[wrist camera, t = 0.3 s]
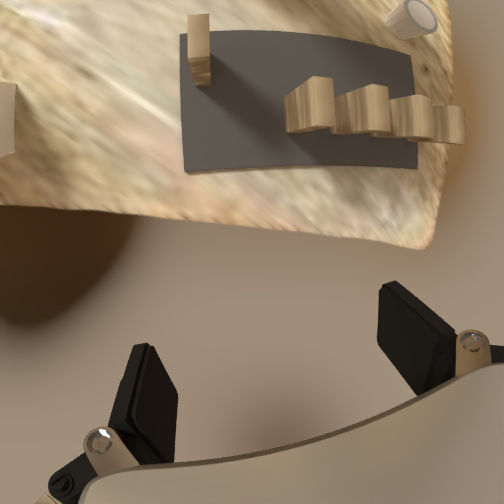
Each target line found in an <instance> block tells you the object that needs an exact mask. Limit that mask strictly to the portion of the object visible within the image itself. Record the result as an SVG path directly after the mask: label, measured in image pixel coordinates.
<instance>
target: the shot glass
mask: <svg viewBox="0 0 504 504" xmlns="http://www.w3.org/2000/svg"><path fill="white" fill-rule="evenodd" d="M385 23H386V25H387V28H388V29H389V30H390V32H391V33H392V34H393V35H395V36H396V37H397V38H400V39H402V40H407V39H411V38H415V37H418V36H422V35H427V34H431V33H433V32H435V31H436V30H437V27H438V25H437V20H436V17H435V15H434V13H433V12H432V11H431V9H430V8H429V7H428V6H427V5H426V4H425V3H424V2H423V1H421V0H404V1H402V2H401V3H400V4H399V5H398V6H396V7H395V8H394V9H393V10H392V11H390V12H389V13H388V14H387V15H386V17H385Z"/></svg>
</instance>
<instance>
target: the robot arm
mask: <svg viewBox="0 0 504 504" xmlns="http://www.w3.org/2000/svg"><path fill="white" fill-rule="evenodd" d="M378 310H379V311H378V330H377V342H378V345H379V347H380V348H381V349H382V351H383V352H384V353H385V354H386V356H387V357H388V358H389V360H390V361H391V362H392V364H393V365H394V366H395V367H396V369H397V370H398V371H399V373H400V374H401V375H402V377H403V378H404V379H405V381H406V382H407V383H408V385H409V386H410V387H411V389H412V390H413V391H414V393H415V394H416V395H417V397H415V398H413V399H411V400H409V401H407V402H405V403H403V404H401V405H399V406H396V407H394V408H392V409H390V410H387V411H385V412H383V413H380V414H378V415H376V416H373V417H371V418H368V419H366V420H363V421H361V422H358V423H356V424H353V425H350V426H347V427H344V428H341V429H339V430H336V431H333V432H330V433H327V434H324V435H320V436H317V437H314V438H310V439H307V440H303V441H300V442H296V443H292V444H288V445H284V446H280V447H276V448H272V449H267V450H262V451H258V452H252V453H247V454H242V455H236V456H230V457H222V458H215V459H206V460H199V461H188V462H177V463H174V454H175V436H176V419H177V407H178V393H177V391H176V388H175V387H174V385H173V383H172V381H171V379H170V377H169V375H168V374H167V372H166V370H165V368H164V366H163V364H162V362H161V360H160V358H159V356H158V354H157V352H156V350H155V348H154V346H150V345H149V344H148V343H143V344H137V345H134V346H133V348H132V352H131V354H130V357H129V360H128V363H127V366H126V370H125V373H124V376H123V379H122V380H121V382H120V385H119V388H118V392H117V395H116V399H115V402H114V405H113V409H112V412H111V416H110V420H109V423H108V427H104V426H102V427H97V428H95V429H93V430H91V431H90V432H89V433H88V434H87V436H86V437H85V439H84V441H83V448H84V451H85V452H84V453H83V454H81V455H80V456H79V457H77V458H76V459H74V460H73V461H71V462H70V463H68V464H67V465H66V466H64V467H63V468H61V469H60V470H58V471H57V472H55V473H54V474H53V475H52V476H51V478H50V479H49V483H48V489H49V493H48V494H46V493H44V494H43V495H42V496H41V497H40V499H39V500H38V501H37V502H36V503H35V504H504V346H497V345H490V344H489V340H488V338H487V336H486V335H485V334H483V333H482V332H480V331H477V330H465V331H463V332H461V333H460V334H459V335H457V334H456V333H455V330H454V329H453V328H452V327H451V326H450V325H449V324H447V323H446V322H445V321H444V320H443V319H442V318H441V317H439V316H438V315H437V314H436V313H435V312H434V311H432V310H431V309H430V308H429V307H428V306H426V305H425V304H424V303H423V302H422V301H420V300H419V299H418V298H417V297H415V296H414V295H413V294H412V293H411V292H410V291H408V290H407V289H406V288H405V287H403V286H402V285H401V284H400V283H398V282H397V281H392V282H389V283H386V284H383V285H382V288H381V289H380V290H379V308H378Z"/></svg>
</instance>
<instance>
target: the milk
mask: <svg viewBox="0 0 504 504" xmlns="http://www.w3.org/2000/svg"><path fill="white" fill-rule="evenodd" d="M15 93H16V84H15V83H8V82H0V158H2V157H4V156H7V155H10V154H12V153H15V141H14V113H15Z"/></svg>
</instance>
